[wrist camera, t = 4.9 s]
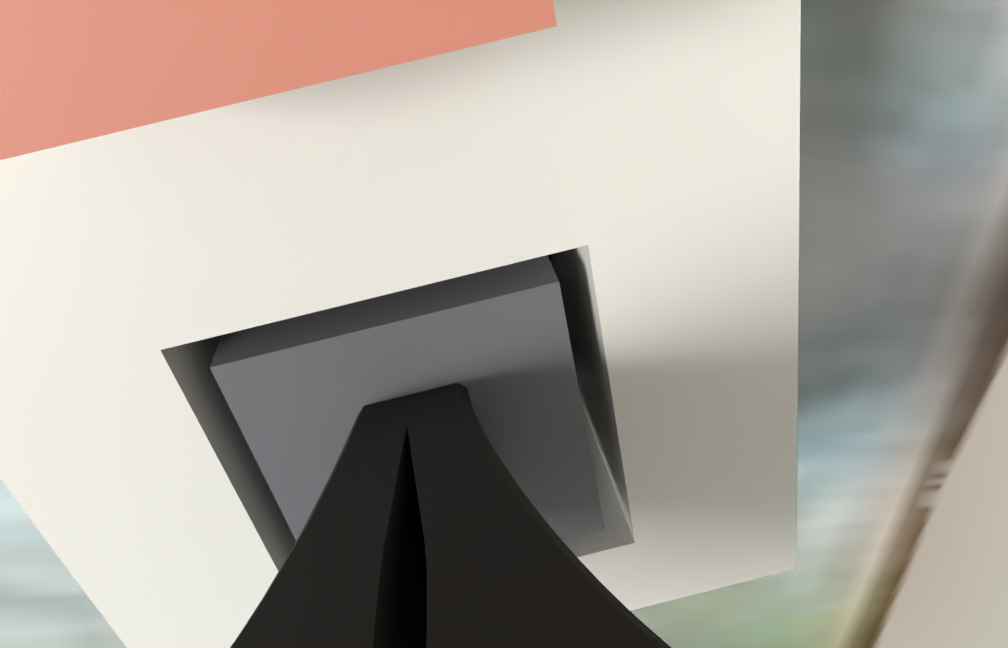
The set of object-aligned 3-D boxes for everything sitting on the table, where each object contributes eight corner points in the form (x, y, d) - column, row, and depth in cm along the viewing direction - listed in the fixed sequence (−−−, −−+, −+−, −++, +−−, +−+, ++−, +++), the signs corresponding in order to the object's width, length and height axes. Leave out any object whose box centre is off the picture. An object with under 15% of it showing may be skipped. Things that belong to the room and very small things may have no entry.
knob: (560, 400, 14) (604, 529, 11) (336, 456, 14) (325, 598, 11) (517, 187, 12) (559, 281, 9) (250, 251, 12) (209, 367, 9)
